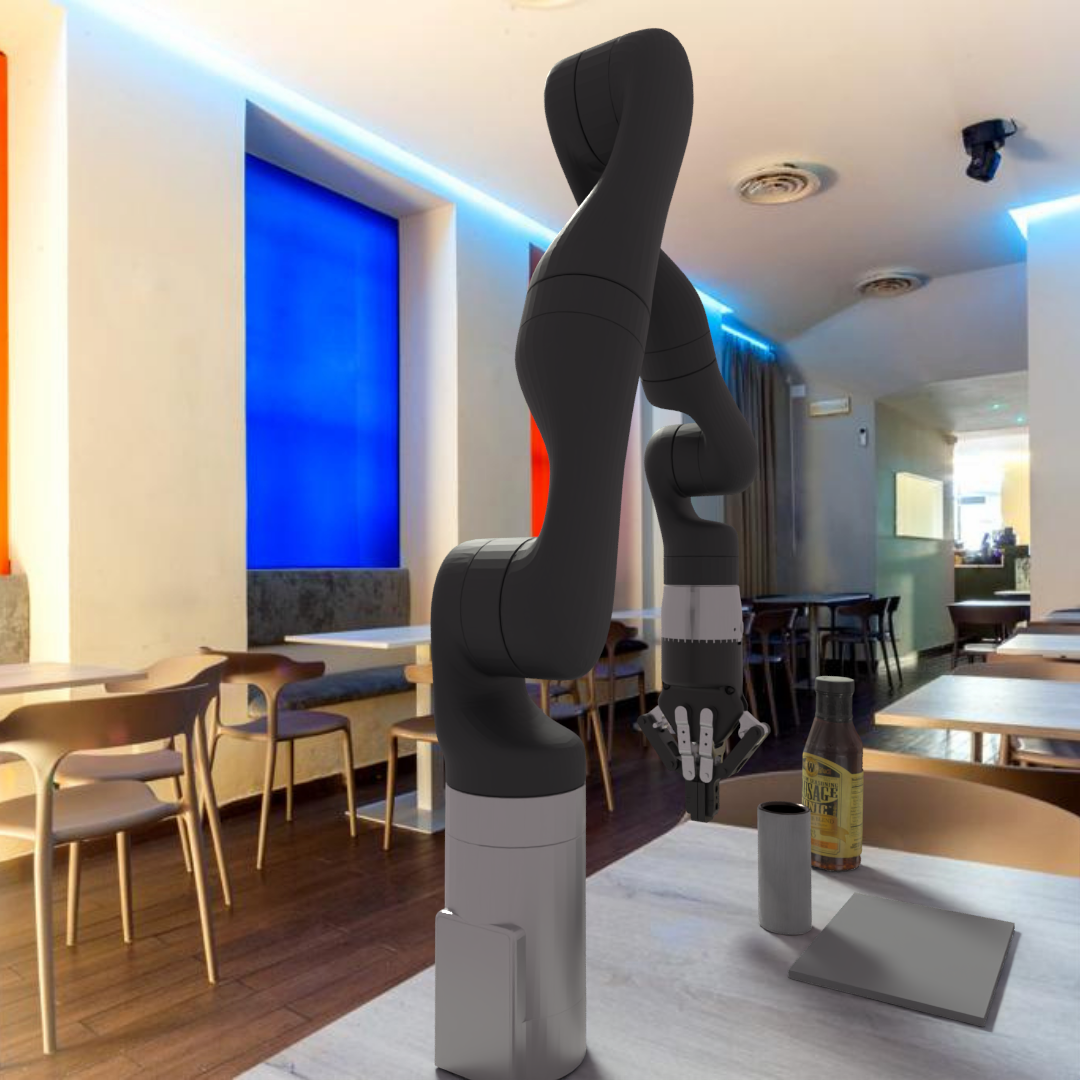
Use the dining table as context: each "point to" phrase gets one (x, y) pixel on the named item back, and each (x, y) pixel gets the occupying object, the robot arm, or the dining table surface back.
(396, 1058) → the dining table surface
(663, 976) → the dining table surface
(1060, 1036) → the dining table surface
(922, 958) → the mat
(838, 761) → the sauce bottle
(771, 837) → the grey hollow cylinder
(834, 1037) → the dining table surface
